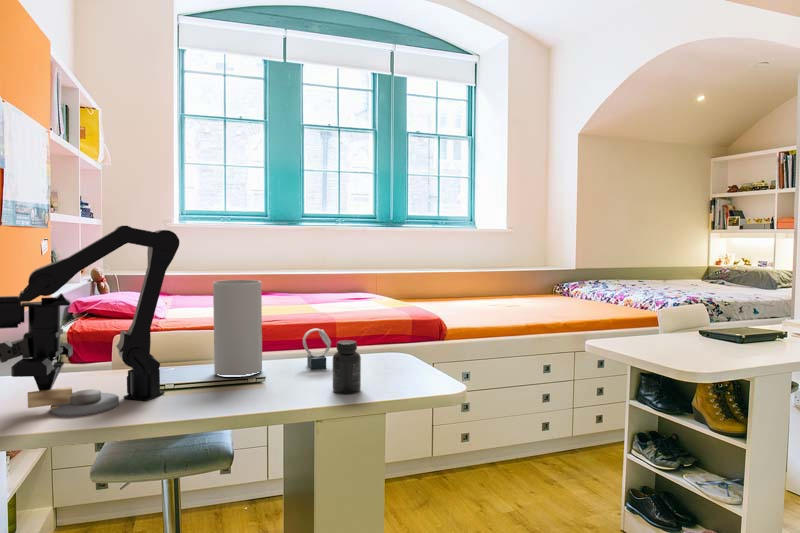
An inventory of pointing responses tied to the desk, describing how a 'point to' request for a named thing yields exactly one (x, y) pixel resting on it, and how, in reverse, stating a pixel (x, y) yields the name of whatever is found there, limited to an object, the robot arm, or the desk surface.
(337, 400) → the desk surface
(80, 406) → the dial plate
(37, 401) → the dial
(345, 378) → the supplement bottle
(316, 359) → the watch
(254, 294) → the cylinder vase
